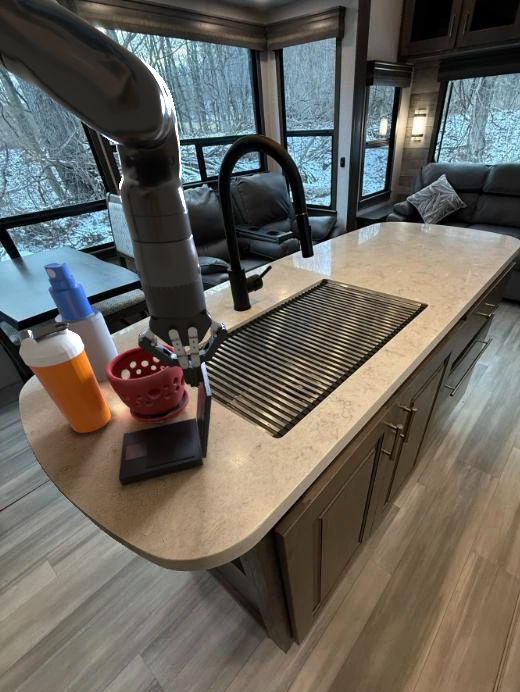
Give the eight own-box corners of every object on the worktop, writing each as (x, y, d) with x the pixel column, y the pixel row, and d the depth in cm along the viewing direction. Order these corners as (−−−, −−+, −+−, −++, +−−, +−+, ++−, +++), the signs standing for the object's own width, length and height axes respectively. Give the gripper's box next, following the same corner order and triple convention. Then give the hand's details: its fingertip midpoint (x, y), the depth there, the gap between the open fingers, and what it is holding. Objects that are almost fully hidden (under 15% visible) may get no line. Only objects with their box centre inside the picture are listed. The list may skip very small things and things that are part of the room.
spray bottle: (108, 382, 77) (58, 272, 61) (74, 379, 78) (16, 270, 62) (130, 362, 83) (89, 258, 68) (98, 359, 85) (51, 257, 69)
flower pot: (169, 383, 76) (155, 336, 69) (205, 406, 70) (192, 357, 62) (114, 411, 68) (90, 362, 61) (147, 440, 62) (126, 389, 54)
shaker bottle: (123, 419, 66) (81, 328, 54) (76, 443, 61) (17, 349, 49) (105, 401, 71) (62, 313, 59) (60, 421, 66) (2, 330, 54)
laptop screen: (206, 395, 49) (211, 395, 49) (199, 358, 57) (203, 358, 57) (201, 458, 56) (206, 458, 56) (195, 417, 64) (200, 417, 64)
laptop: (122, 486, 54) (118, 478, 53) (126, 440, 62) (123, 433, 61) (203, 465, 57) (201, 458, 56) (197, 424, 65) (195, 417, 64)
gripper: (218, 262, 47) (231, 365, 58) (117, 270, 44) (151, 378, 54) (226, 279, 42) (240, 389, 52) (111, 289, 38) (151, 406, 49)
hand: (194, 383), depth 53 cm, fingers closed
